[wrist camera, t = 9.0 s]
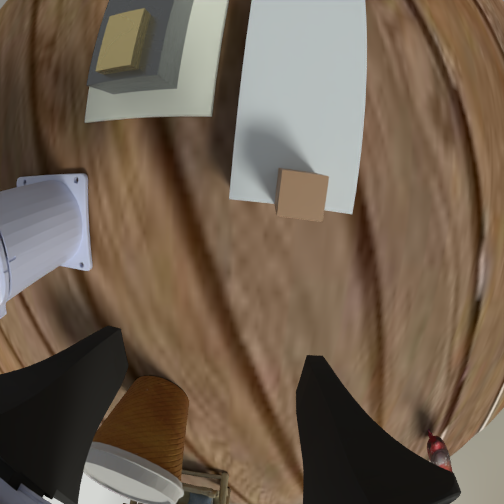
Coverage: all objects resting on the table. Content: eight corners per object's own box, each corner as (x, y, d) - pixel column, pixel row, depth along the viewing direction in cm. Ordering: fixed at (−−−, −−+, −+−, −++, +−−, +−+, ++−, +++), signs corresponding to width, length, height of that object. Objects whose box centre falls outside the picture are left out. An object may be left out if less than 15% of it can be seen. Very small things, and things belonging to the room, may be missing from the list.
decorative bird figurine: (426, 449, 29) (441, 492, 19) (409, 411, 25) (434, 473, 15) (440, 441, 28) (457, 483, 19) (429, 399, 24) (458, 459, 15)
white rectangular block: (235, 192, 18) (218, 210, 12) (258, -10, 13) (254, -62, 6) (339, 205, 18) (374, 229, 12) (352, 5, 12) (380, -39, 6)
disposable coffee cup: (104, 367, 24) (53, 449, 13) (176, 357, 23) (131, 468, 11) (150, 422, 27) (121, 499, 16) (219, 418, 25) (202, 513, 14)
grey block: (113, 94, 15) (77, 82, 11) (133, 7, 13) (107, -17, 8) (176, 88, 15) (150, 70, 11) (194, -2, 12) (177, -34, 8)
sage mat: (88, 122, 16) (84, 122, 16) (115, -2, 12) (113, -4, 12) (211, 116, 16) (210, 115, 16) (232, -18, 12) (231, -22, 12)
